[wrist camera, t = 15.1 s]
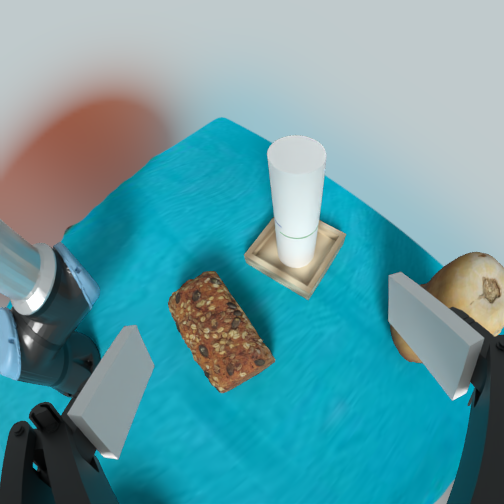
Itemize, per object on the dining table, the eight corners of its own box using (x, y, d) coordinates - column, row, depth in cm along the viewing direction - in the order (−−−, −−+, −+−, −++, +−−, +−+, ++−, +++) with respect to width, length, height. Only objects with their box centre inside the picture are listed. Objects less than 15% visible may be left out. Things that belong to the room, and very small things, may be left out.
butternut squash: (375, 362, 43) (447, 333, 21) (385, 293, 48) (443, 218, 26) (439, 369, 39) (529, 341, 17) (444, 303, 45) (519, 241, 23)
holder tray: (246, 263, 55) (244, 254, 52) (285, 213, 59) (284, 203, 56) (308, 300, 50) (309, 293, 47) (343, 243, 54) (346, 234, 51)
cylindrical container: (300, 229, 56) (302, 129, 34) (321, 255, 53) (338, 158, 31) (270, 246, 55) (256, 149, 33) (290, 275, 52) (289, 183, 30)
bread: (277, 363, 45) (275, 357, 37) (225, 395, 44) (210, 396, 35) (223, 282, 54) (210, 259, 45) (177, 310, 52) (155, 293, 43)
